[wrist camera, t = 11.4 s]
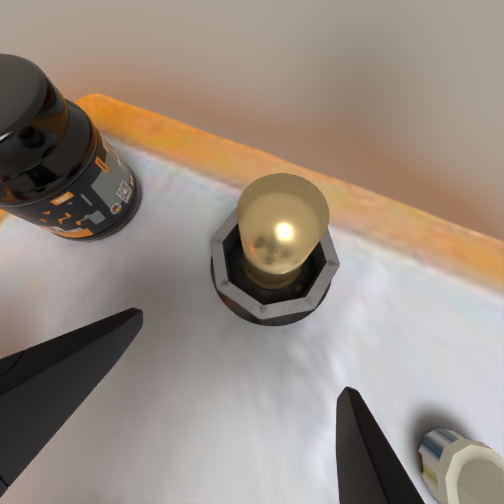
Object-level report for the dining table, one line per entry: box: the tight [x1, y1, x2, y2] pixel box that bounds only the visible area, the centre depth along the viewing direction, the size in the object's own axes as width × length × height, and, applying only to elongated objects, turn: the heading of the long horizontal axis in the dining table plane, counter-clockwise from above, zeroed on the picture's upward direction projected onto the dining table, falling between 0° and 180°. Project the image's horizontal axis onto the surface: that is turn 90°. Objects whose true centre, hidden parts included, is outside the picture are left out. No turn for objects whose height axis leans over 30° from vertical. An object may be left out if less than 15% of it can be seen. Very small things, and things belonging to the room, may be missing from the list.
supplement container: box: [0, 54, 140, 241], centre depth 19 cm, size 10×10×12 cm
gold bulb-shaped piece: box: [237, 173, 329, 291], centre depth 16 cm, size 6×6×10 cm
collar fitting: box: [210, 207, 340, 326], centre depth 20 cm, size 12×12×4 cm
